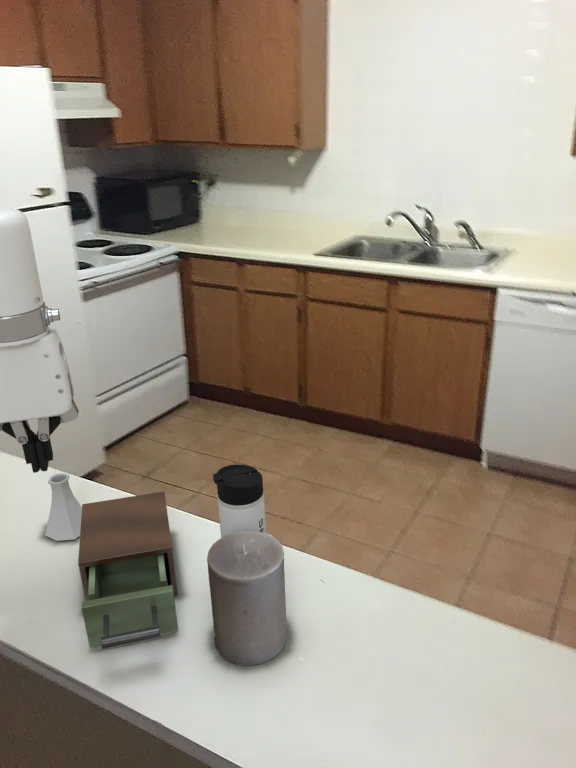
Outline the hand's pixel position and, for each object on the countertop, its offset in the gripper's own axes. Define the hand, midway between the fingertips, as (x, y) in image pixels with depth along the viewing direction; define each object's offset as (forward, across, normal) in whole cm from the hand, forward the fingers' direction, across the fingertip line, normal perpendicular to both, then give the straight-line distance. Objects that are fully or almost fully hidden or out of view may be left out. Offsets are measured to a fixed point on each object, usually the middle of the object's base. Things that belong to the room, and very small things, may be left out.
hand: (41, 466), depth 81 cm
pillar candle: (+25, -23, +9) cm, 35 cm away
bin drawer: (+24, -8, +2) cm, 26 cm away
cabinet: (+25, -8, -9) cm, 28 cm away
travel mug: (+25, -24, 0) cm, 35 cm away
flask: (+25, +2, -23) cm, 34 cm away
